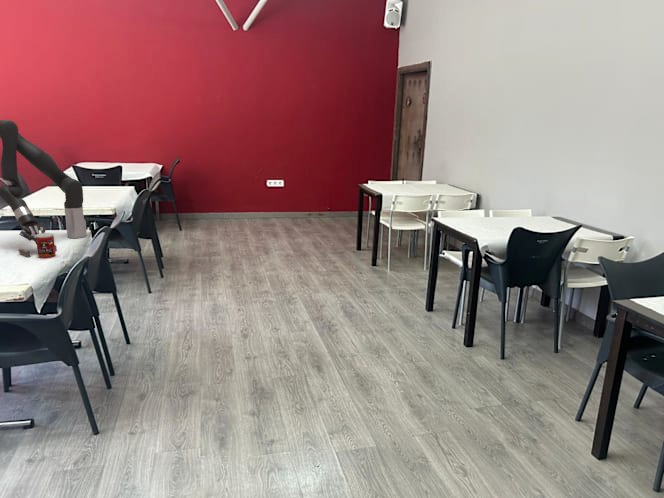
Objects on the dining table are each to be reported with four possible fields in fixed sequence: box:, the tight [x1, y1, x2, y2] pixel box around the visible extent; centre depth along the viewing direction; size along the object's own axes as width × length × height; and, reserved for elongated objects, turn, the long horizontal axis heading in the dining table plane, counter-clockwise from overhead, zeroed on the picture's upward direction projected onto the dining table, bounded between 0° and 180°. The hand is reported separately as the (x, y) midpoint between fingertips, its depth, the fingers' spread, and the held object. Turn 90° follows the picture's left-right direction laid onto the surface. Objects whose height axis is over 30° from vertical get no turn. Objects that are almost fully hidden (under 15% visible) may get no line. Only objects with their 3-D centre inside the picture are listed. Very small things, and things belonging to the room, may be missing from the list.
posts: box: [24, 244, 58, 258], centre depth 252 cm, size 15×2×3 cm, turn 148°
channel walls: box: [18, 248, 26, 257], centre depth 254 cm, size 14×6×2 cm, turn 148°
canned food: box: [35, 232, 56, 259], centre depth 248 cm, size 8×8×11 cm
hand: (40, 245), depth 251 cm, fingers closed
